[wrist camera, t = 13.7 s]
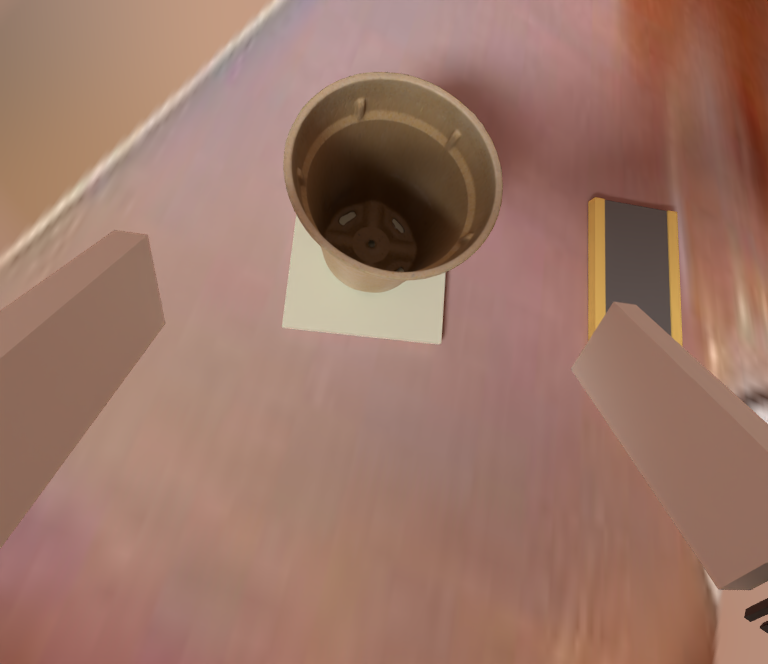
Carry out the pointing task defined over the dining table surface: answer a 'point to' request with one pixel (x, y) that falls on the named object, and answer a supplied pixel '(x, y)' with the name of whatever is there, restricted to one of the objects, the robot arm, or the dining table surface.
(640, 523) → the dining table surface
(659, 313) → the trap mat
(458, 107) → the flower pot
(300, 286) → the pad
